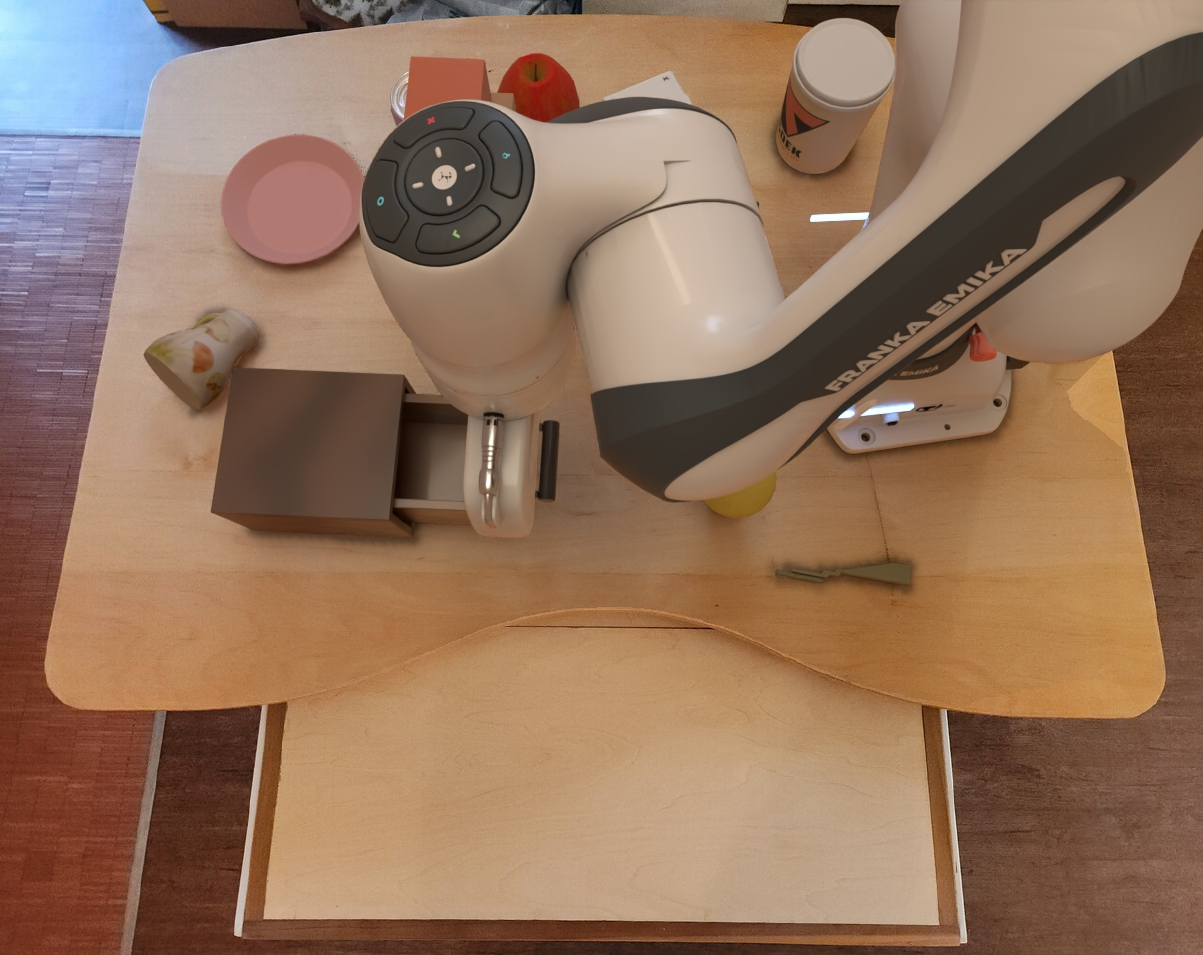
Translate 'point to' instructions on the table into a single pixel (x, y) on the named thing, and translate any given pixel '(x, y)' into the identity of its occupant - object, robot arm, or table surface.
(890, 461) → the table surface
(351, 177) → the plate
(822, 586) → the table surface
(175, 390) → the mug
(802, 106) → the coffee cup
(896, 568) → the toy shotgun
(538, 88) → the apple
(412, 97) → the block
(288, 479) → the cabinet
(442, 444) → the drawer
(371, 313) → the table surface
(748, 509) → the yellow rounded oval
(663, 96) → the small box
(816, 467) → the table surface
